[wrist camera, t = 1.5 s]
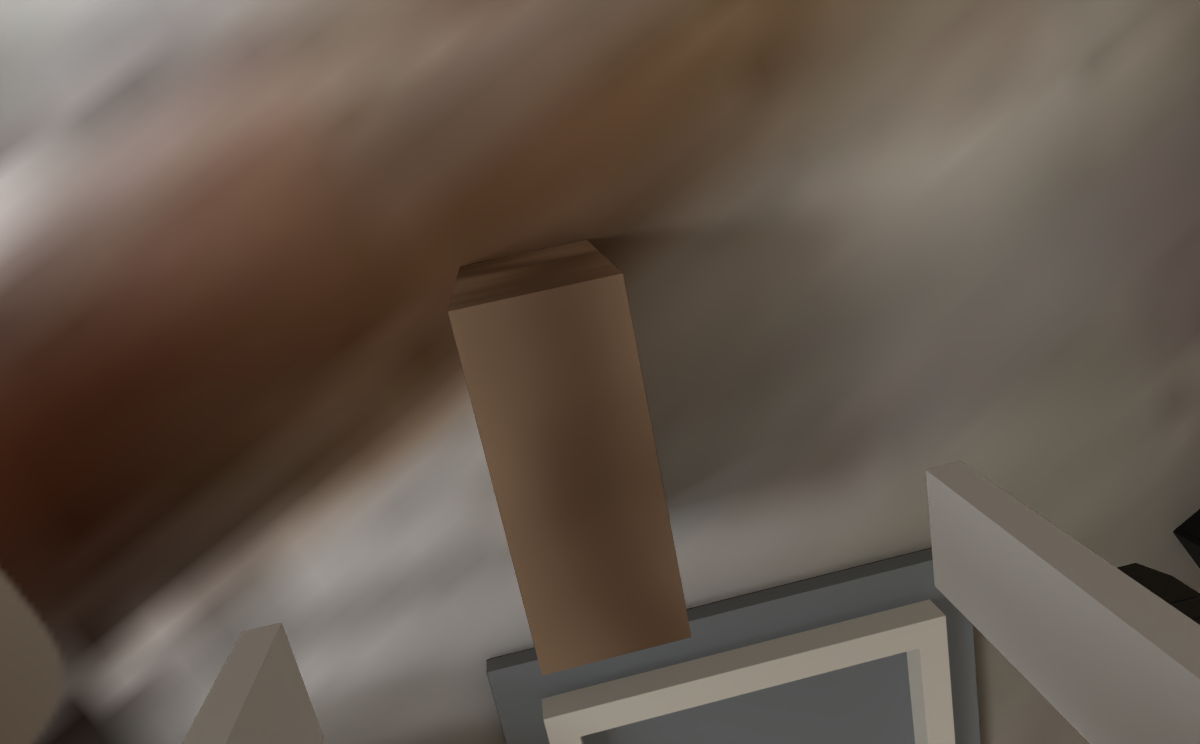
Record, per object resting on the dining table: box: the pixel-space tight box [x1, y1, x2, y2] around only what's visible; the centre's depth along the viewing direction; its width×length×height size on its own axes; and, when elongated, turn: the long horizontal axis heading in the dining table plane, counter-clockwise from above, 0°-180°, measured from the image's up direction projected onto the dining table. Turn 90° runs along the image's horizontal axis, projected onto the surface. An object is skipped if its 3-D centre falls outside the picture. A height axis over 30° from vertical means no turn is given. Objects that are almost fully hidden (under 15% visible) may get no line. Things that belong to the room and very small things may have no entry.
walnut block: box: [448, 240, 691, 675], centre depth 25 cm, size 4×11×8 cm, turn 11°
